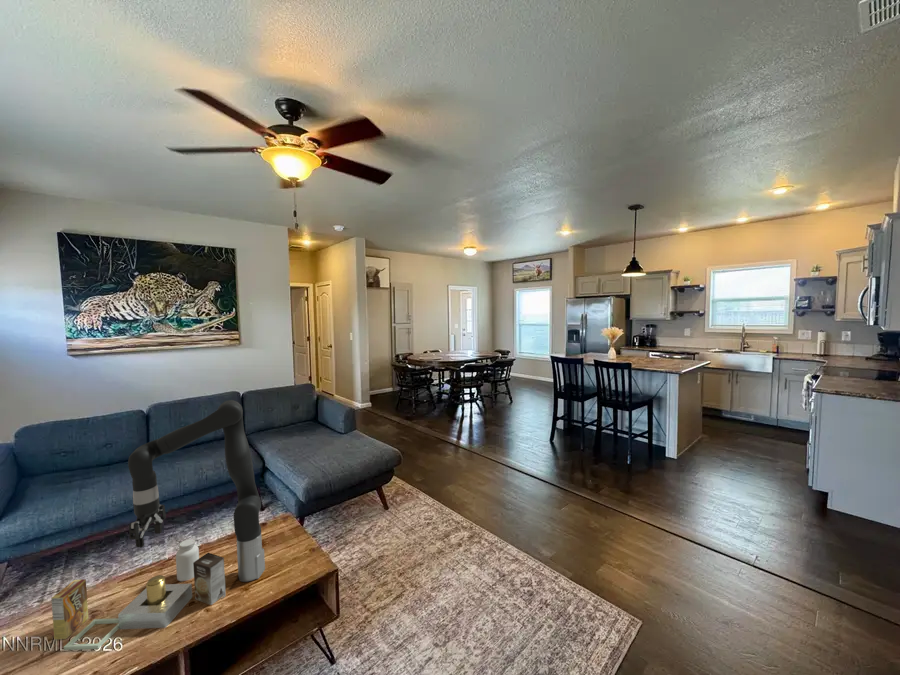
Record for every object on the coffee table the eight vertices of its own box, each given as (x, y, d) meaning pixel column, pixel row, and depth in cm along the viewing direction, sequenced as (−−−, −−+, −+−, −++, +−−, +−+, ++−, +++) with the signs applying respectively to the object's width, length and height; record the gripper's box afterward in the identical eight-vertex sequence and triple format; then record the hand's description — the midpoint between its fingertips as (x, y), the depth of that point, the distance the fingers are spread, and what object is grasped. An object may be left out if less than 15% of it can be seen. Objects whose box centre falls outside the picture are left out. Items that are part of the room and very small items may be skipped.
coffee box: (194, 602, 143) (191, 562, 142) (209, 590, 149) (207, 552, 148) (211, 607, 140) (209, 567, 139) (226, 595, 146) (224, 556, 145)
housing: (192, 599, 144) (191, 583, 144) (166, 630, 130) (165, 612, 130) (150, 600, 144) (149, 584, 143) (119, 631, 130) (118, 614, 129)
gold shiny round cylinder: (170, 606, 139) (168, 574, 139) (159, 617, 134) (157, 584, 133) (155, 606, 139) (153, 574, 138) (144, 618, 134) (142, 585, 133)
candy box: (77, 619, 135) (73, 579, 134) (89, 618, 136) (86, 578, 135) (53, 640, 126) (49, 598, 125) (67, 639, 127) (63, 597, 126)
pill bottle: (204, 570, 160) (202, 537, 159) (189, 584, 152) (187, 549, 151) (187, 569, 161) (185, 536, 160) (172, 582, 153) (169, 548, 152)
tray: (126, 623, 133) (126, 618, 133) (98, 651, 122) (97, 645, 122) (95, 624, 133) (94, 619, 133) (64, 652, 122) (63, 646, 122)
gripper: (140, 508, 133) (144, 551, 134) (170, 489, 147) (173, 528, 148) (119, 509, 133) (123, 552, 134) (151, 490, 147) (154, 529, 148)
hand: (149, 539), depth 141 cm, fingers open, 8 cm apart
